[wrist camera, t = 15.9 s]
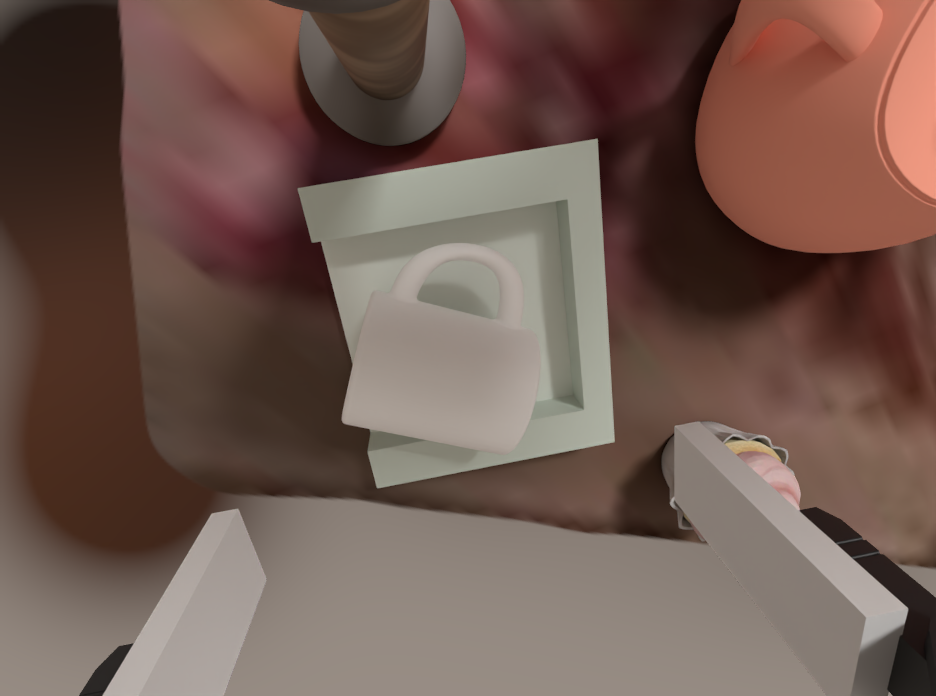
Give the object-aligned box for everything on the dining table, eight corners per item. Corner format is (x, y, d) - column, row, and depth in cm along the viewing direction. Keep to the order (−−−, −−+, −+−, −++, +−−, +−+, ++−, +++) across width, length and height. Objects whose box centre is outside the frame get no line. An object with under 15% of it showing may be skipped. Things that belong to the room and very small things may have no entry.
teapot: (1035, 60, 32) (1443, -16, 19) (887, 297, 36) (1137, 360, 24) (720, -124, 27) (997, -395, 14) (596, 179, 31) (718, 181, 19)
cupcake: (622, 488, 40) (686, 585, 30) (673, 389, 37) (761, 461, 28) (716, 512, 42) (804, 610, 32) (771, 420, 39) (884, 497, 30)
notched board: (578, 142, 30) (597, 138, 27) (598, 420, 37) (614, 442, 34) (309, 187, 29) (297, 188, 26) (380, 462, 36) (377, 488, 33)
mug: (487, 423, 35) (512, 480, 27) (349, 394, 33) (333, 447, 25) (536, 260, 32) (579, 273, 25) (390, 219, 30) (386, 219, 23)
